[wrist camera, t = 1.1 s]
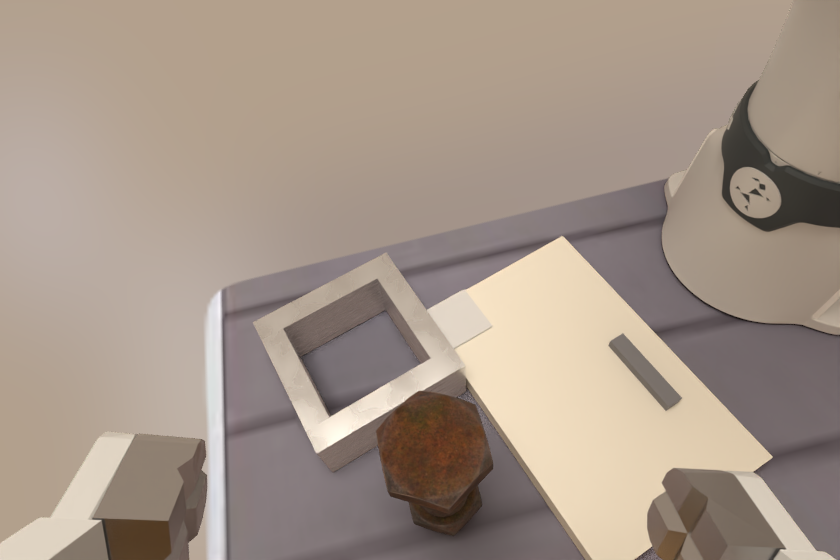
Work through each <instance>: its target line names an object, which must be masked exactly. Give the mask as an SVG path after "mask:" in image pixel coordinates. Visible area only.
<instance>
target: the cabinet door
mask: <svg viewBox="0 0 840 560" xmlns="http://www.w3.org/2000/svg"><path fill="white" fill-rule="evenodd" d="M427 311H428V313H429V314H430V316H431V317H432V319H433V320H434V321H435V323H436V324H437V326H438V327H439V329H440V330H441V331H442V333H443V334H444V336H445V337H446V339H447V340H448V341H449V343H450V344H451V346H452V347H453V348H454V350H455V351H456V353H457V354H458V356H459V357H460V358H461V360H462V361H463V363H464V364H465V370H466V387H467V388H468V390H469V391H470V393H471V394H472V395H473V397H474V398H475V400H476V401H477V403H478V404H479V406H480V407H481V409H482V410H483V411H484V413H485V414H486V416H487V417H488V419H489V420H490V422H491V423H492V425H493V426H494V427H495V429H496V430H497V432H498V433H499V435H500V436H501V438H502V439H503V441H504V442H505V444H506V445H507V446H508V448H509V449H510V451H511V452H512V454H513V455H514V457H515V458H516V460H517V461H518V462H519V464H520V465H521V467H522V468H523V470H524V471H525V473H526V474H527V476H528V477H529V478H530V480H531V481H532V483H533V484H534V486H535V487H536V489H537V490H538V492H539V493H540V494H541V496H542V497H543V499H544V500H545V502H546V503H547V505H548V506H549V508H550V509H551V510H552V512H553V513H554V515H555V516H556V518H557V519H558V521H559V522H560V524H561V525H562V527H563V528H564V529H565V531H566V532H567V534H568V535H569V537H570V538H571V540H572V541H573V543H574V544H575V545H576V547H577V548H578V550H579V551H580V553H581V554H582V556H583V557H584V559H585V560H634V559H636V558H637V557H638V556H640V555H641V554H643V553H644V552H645V551H647V550H648V549H649V548H651V547H652V544H651V542H650V539H649V534H648V530H647V512H648V510H649V508H650V505H651V503H652V501H653V499H655V498H656V497H658V496H659V495H661V494H662V493H664V492H665V490H664V487H663V485H662V481H663V479H664V477H665V475H666V473H667V472H668V471H670V470H671V469H673V468H687V469H707V470H722V471H744V472H754V471H755V470H756V469H758V468H759V467H760V466H762V465H763V464H764V463H766V462H767V461H768V460H770V459H771V458H772V456H771V455H770V454H769V453H768V451H767V450H766V449H765V448H764V447H763V446H762V445H761V444H760V443H759V442H758V441H757V440H756V439H755V438H754V437H753V436H752V435H751V434H750V433H749V432H748V430H747V429H746V428H745V427H744V426H743V425H742V424H741V423H740V422H739V421H738V420H737V419H736V418H735V417H734V416H733V415H732V414H731V413H730V412H729V410H728V409H727V408H726V407H725V406H724V405H723V404H722V403H721V402H720V401H719V400H718V399H717V398H716V397H715V396H714V395H713V394H712V393H711V392H710V390H709V389H708V388H707V387H706V386H705V385H704V384H703V383H702V382H701V381H700V380H699V379H698V378H697V377H696V376H695V375H694V374H693V373H692V372H691V370H690V369H689V368H688V367H687V366H686V365H685V364H684V363H683V362H682V361H681V360H680V359H679V358H678V357H677V356H676V355H675V354H674V353H673V352H672V350H671V349H670V348H669V347H668V346H667V345H666V344H665V343H664V342H663V341H662V340H661V339H660V338H659V337H658V336H657V335H656V334H655V333H654V332H653V330H652V329H651V328H650V327H649V326H648V325H647V324H646V323H645V322H644V321H643V320H642V319H641V318H640V317H639V316H638V315H637V314H636V313H635V312H634V311H633V309H632V308H631V307H630V306H629V305H628V304H627V303H626V302H625V301H624V300H623V299H622V298H621V297H620V296H619V295H618V294H617V293H616V292H615V291H614V289H613V288H612V287H611V286H610V285H609V284H608V283H607V282H606V281H605V280H604V279H603V278H602V277H601V276H600V275H599V274H598V273H597V272H596V271H595V269H594V268H593V267H592V266H591V265H590V264H589V263H588V262H587V261H586V260H585V259H584V258H583V257H582V256H581V255H580V254H579V253H578V252H577V251H576V249H575V248H574V247H573V246H572V245H571V244H570V243H569V242H568V241H567V240H566V239H565V238H564V237H563V236H562V237H560V238H558V239H556V240H554V241H553V242H551V243H549V244H547V245H545V246H544V247H542V248H540V249H538V250H537V251H535V252H533V253H531V254H529V255H528V256H526V257H524V258H522V259H520V260H519V261H517V262H515V263H513V264H512V265H510V266H508V267H506V268H504V269H503V270H501V271H499V272H497V273H495V274H494V275H492V276H490V277H488V278H487V279H485V280H483V281H481V282H479V283H478V284H476V285H474V286H472V287H470V288H469V289H467V290H465V289H463V290H462V291H460V292H458V293H456V294H454V295H453V296H451V297H449V298H447V299H446V300H444V301H442V302H440V303H438V304H437V305H435V306H433V307H431V308H429V309H428V310H427Z"/></svg>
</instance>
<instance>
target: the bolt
mask: <svg viewBox="0 0 840 560" xmlns="http://www.w3.org/2000/svg"><path fill="white" fill-rule="evenodd" d="M376 436H377V443H378V448H379V453H380V459H381V464H382V469H383V473H384V478H385V482H386V486H387V490H388V493H389V494H390V496H391V497H394V498H398V499H401V500H404V501H408V502H409V505H410V510H411V514H412V518H413V522H414V523H415V524H416V525H419V526H422V527H424V528H427V529H430V530H433V531H437V532H440V533H444V534H448V535H452V536H454V535H455V534H456V533H457V532H458V531H459V530H460V529H461V528H462V527H463V526H464V525H465V524H466V523H467V522H468V521H469V520H470V519H471V518H472V517H473V515H474V514H475V513H476V512H477V511H478V510H479V508H480V507H481V506H482V501H481V497H480V493H479V489H478V484H479V483H480V482H481V481H482V480H483V479H484V478H485V477H486V476H487V475H488V474H489V472H490V471H491V470H492V469H493V460H492V456H491V452H490V448H489V445H488V441H487V438H486V434H485V431H484V428H483V425H482V422H481V419H480V416H479V413H478V410H477V408H476V405H475V404H472V403H470V402H467V401H465V400H462V399H459V398H456V397H452V396H449V395H445V394H441V393H436V392H430V391H418V392H416V393H415V394H413V395H412V396H410V397H409V398H408V399H407V400H405V401H404V402H403V403H402V404H401V405H400V406H398V407H397V408H396V409H395V410H394V411H393V412H392V413H391V414H390V415H389V416H388V417H387V418H386V419H385V420H384V421H383V423H382V424H381V425H380V426H379V428H378V429H377V430H376Z"/></svg>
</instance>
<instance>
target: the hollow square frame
mask: <svg viewBox="0 0 840 560" xmlns="http://www.w3.org/2000/svg"><path fill="white" fill-rule="evenodd" d="M385 310H386V311H387V313H388V314H389V316H390V317H391V319H392V320H393V322H394V323H395V325H396V326H397V328H398V329H399V331H400V333H401V334H402V336H403V337H404V339H405V340H406V342H407V343H408V345H409V346H410V348H411V349H412V351H413V352H414V354H415V356H416V357H417V359H418V360H419V362H420V363H421V364H420V365H419V366H417V367H415V368H413V369H412V370H410V371H408V372H407V373H405V374H403V375H401V376H400V377H398V378H396V379H394V380H393V381H391V382H389V383H388V384H386V385H384V386H382V387H381V388H379V389H377V390H376V391H374V392H372V393H370V394H369V395H367V396H365V397H364V398H362V399H360V400H358V401H357V402H355V403H353V404H351V405H350V406H348V407H346V408H345V409H343V410H341V411H339V412H338V413H336V414H334V415H333V416H331V414H330V412H329V410H328V409H327V407H326V405H325V403H324V401H323V399H322V397H321V395H320V393H319V391H318V389H317V387H316V386H315V384H314V382H313V380H312V378H311V376H310V374H309V372H308V370H307V368H306V366H305V364H304V363H303V361H302V359H301V356H303V355H305V354H306V353H308V352H310V351H312V350H314V349H316V348H317V347H319V346H321V345H323V344H325V343H327V342H328V341H330V340H332V339H334V338H336V337H337V336H339V335H341V334H343V333H345V332H347V331H348V330H350V329H352V328H354V327H356V326H357V325H359V324H361V323H363V322H365V321H367V320H368V319H370V318H372V317H374V316H376V315H378V314H379V313H381V312H383V311H385ZM253 324H254V326H255V328H256V330H257V332H258V334H259V336H260V338H261V340H262V342H263V344H264V346H265V348H266V350H267V352H268V354H269V357H270V359H271V361H272V363H273V365H274V367H275V369H276V371H277V373H278V375H279V377H280V379H281V381H282V383H283V385H284V387H285V389H286V392H287V394H288V396H289V398H290V400H291V402H292V404H293V406H294V408H295V410H296V412H297V414H298V416H299V418H300V420H301V422H302V424H303V427H304V429H305V431H306V433H307V435H308V437H309V439H310V441H311V443H312V445H313V447H314V449H315V451H316V453H317V455H318V456H319V457H320V458H321V459H322V460H323V462H324V463H325V464H326V465H327V466H328V468H329V469H330V470H331V471H332V472H335V471H336V470H338V469H340V468H341V467H343V466H345V465H346V464H348V463H350V462H351V461H353V460H354V459H356V458H358V457H359V456H361V455H363V454H364V453H366V452H368V451H369V450H371V449H373V448H374V447H376V446H378V443H377V436H376V430H377V429H378V428H379V426H380V425H381V424H382V423H383V421H384V420H385V419H386V418H387V417H388V416H389V415H390V414H391V413H392V412H393V411H394V410H395V409H396V408H397V407H398V406H400V405H401V404H402V403H403V402H404V401H405V400H407V399H408V398H409V397H410V396H412V395H413V394H415V393H416V392H418V391H430V392H436V393H441V394H445V395H449V396H452V397H456V398H457V397H458V396H460V395H462V394H463V393H465V392H466V370H465V364H464V363H463V361H462V360H461V358H460V357H459V356H458V354H457V353H456V351H455V350H454V348H453V347H452V346H451V344H450V343H449V341H448V340H447V339H446V337H445V336H444V334H443V333H442V331H441V330H440V329H439V327H438V326H437V324H436V323H435V321H434V320H433V319H432V317H431V316H430V314H429V313H428V311H427V310H426V309H425V307H424V306H423V304H422V303H421V301H420V300H419V299H418V297H417V296H416V294H415V293H414V291H413V290H412V289H411V287H410V286H409V284H408V283H407V282H406V280H405V279H404V277H403V276H402V274H401V273H400V272H399V270H398V269H397V267H396V266H395V264H394V263H393V262H392V260H391V259H390V257H389V256H388V254H387V253H384V254H383V255H381V256H379V257H377V258H375V259H373V260H371V261H369V262H367V263H365V264H363V265H362V266H360V267H358V268H356V269H354V270H352V271H350V272H348V273H346V274H344V275H342V276H341V277H339V278H337V279H335V280H333V281H331V282H329V283H327V284H325V285H323V286H321V287H320V288H318V289H316V290H314V291H312V292H310V293H308V294H306V295H304V296H302V297H300V298H299V299H297V300H295V301H293V302H291V303H289V304H287V305H285V306H283V307H281V308H279V309H278V310H276V311H274V312H272V313H270V314H268V315H266V316H264V317H262V318H260V319H258V320H257V321H255V322H253Z"/></svg>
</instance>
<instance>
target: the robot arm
mask: <svg viewBox="0 0 840 560" xmlns="http://www.w3.org/2000/svg"><path fill="white" fill-rule="evenodd" d="M664 191H665V197H666V201H667V205H668V211H667V215H666V218H665V221H664V224H663V228H662V246H663V250H664V254H665V257H666V259H667V261H668V264H669V265H670V267H671V269H672V270H673V272H674V273H675V275H676V276H677V277H678V279H679V280H680V281H681V282H682V283H683V284H684V285H685V286H686V287H687V288H688V289H689V290H690V291H691V292H692V293H693V294H695V295H696V296H697V297H699V298H700V299H701V300H703V301H704V302H706V303H708V304H709V305H711V306H713V307H715V308H716V309H719V310H721V311H723V312H725V313H727V314H730V315H733V316H736V317H739V318H742V319H746V320H750V321H755V322H762V323H783V324H800V325H804V326H807V327H810V328H813V329H816V330H819V331H822V332H826V333H830V334H835V335H840V0H793V2H792V5H791V8H790V10H789V13H788V16H787V18H786V21H785V23H784V26H783V28H782V30H781V33H780V35H779V38H778V40H777V42H776V45H775V47H774V50H773V51H772V54H771V56H770V58H769V60H768V62H767V65H766V67H765V69H764V71H763V73H762V75H761V77H760V79H759V80H758V81H756V82H755V83H754V84H753V85H752V86H751V87H750V88H749V89H748V90H747V92H746V93H745V95H744V96H743V98H742V99H741V101H740V102H739V103H738V104H737V106H736V107H735V109H734V111H733V113H732V115H731V117H730V119H729V124H728V125H725V126H723V127H721V128H719V129H717V128H715V129H713V130H712V131H711V132H710V133H709V134H708V135H707V137H706V138H705V140H704V142H703V144H702V145H701V147H700V148H699V150H698V152H697V154H696V155H695V157H694V159H693V160H692V162H691V164H690V166H689V167H688V169H686V170H683V171H681V172H677V173H675V174H673V175H671V176H670V177H669V179H668V180H667V182H666V184H665V187H664ZM205 458H206V448H205V441H204V440H202V439H195V438H183V437H172V436H159V435H148V434H130V433H129V434H128V433H118V432H107V431H106V432H105V433H104V434H103V435H102V436H100V437H99V438H98V439H97V440H96V442H95V444H94V446H93V447H92V449H91V450H90V452H89V454H88V456H87V457H86V459H85V461H84V462H83V464H82V466H81V467H80V469H79V470H78V472H77V474H76V475H75V477H74V479H73V480H72V482H71V484H70V485H69V487H68V489H67V490H66V492H65V494H64V495H63V497H62V498H61V500H60V502H59V504H58V505H57V507H56V509H55V510H54V512H53V514H52V515H51V517H50V518H44V517H42V518H41V517H39V518H37V519H36V520H35V521H33V522H31V523H30V524H28V525H27V526H25V527H24V528H22V529H21V530H19V531H18V532H16V533H15V534H13V535H12V536H10V537H9V538H7V539H6V540H4V541H3V542H1V543H0V560H189V549H188V548H189V547H188V543H189V541H191V540H192V539H193V538H194V537H195V536H197V534H198V531H199V528H200V525H201V521H202V518H203V513H204V508H205V503H206V496H207V475H206V474H205V473H204V472H203V471H202V470H201V469H202V466H203V463H204V461H205ZM662 485H663V487H664V490H665V492H664V493H662V494H661V495H659V496H658V497H656V498H655V499H653V501H652V503H651V505H650V508H649V510H648V512H647V530H648V534H649V539H650V542H651V544H652V546H653V548H654V551H655V553H656V554H657V555H658V556H659V557H660V558H661V559H662V560H836V559H834V558H833V557H832V556H830V555H829V554H827V553H826V552H822V551H816V550H815V548H814V547H813V546H812V544H811V543H810V542H809V540H808V539H807V538H806V536H805V535H804V534H803V532H802V531H801V530H800V529H799V527H798V526H797V525H796V523H795V522H794V521H793V519H792V518H791V517H790V515H789V514H788V513H787V511H786V510H785V509H784V507H783V506H782V505H781V503H780V502H779V501H778V499H777V498H776V497H775V495H774V494H773V493H772V491H771V490H770V489H769V487H768V486H767V485H766V483H765V482H764V481H763V479H762V478H761V477H759V476H758V475H756V474H755V473H753V472H744V471H722V470H707V469H687V468H673V469H671V470H670V471H668V472H667V473H666V475H665V477H664V479H663V481H662Z"/></svg>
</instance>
